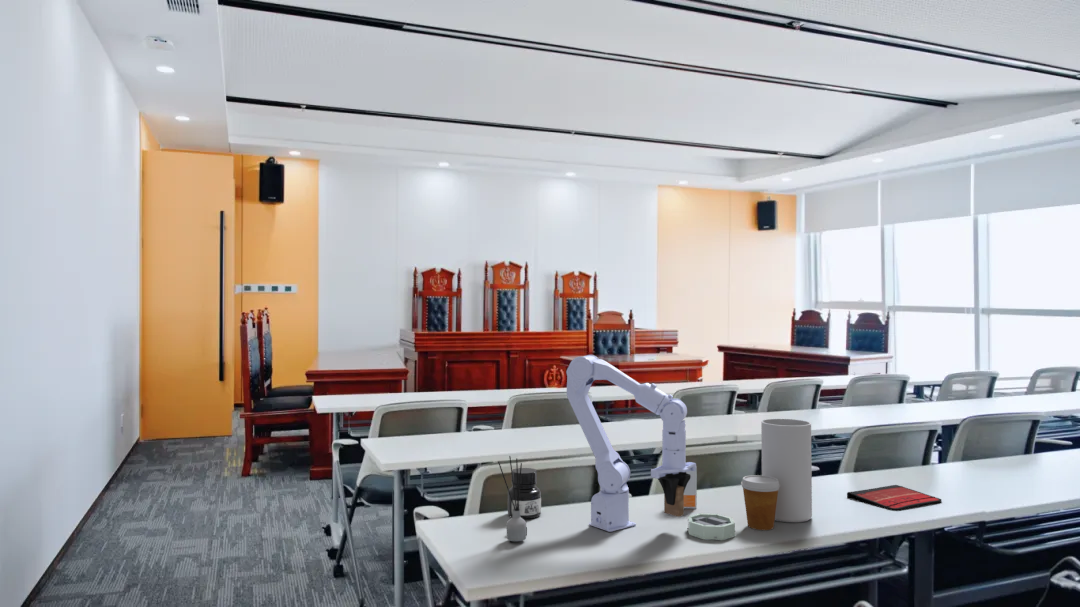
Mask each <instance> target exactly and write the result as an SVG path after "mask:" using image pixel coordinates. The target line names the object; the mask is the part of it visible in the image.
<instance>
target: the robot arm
mask: <svg viewBox="0 0 1080 607" xmlns="http://www.w3.org/2000/svg"><path fill="white" fill-rule="evenodd" d="M565 373H566V376H567V377H566V378H567V380H566V381H567V382H566V392H565V393H566V397H567V400H568V402H569V404H570V406H571V408H572V411H573V412H574V415H575V417H576V419H577V422H578V423H579V426H580V427H581V430H582V432H583V434H584V437H585V439H586V440H587V443H588V445H589V447H590V449H591V451H592V454H593V455H594V460H595V470H596V471H597V482H598V484H599V487H600V488H599V489H600V490H599V492H597V493H595V494H594V495H592V497H591V499H590V522H588V525H589V526H592V527H595V528H598V529H601V530H604V531H606V532H609V533H611V532H615V531H619V530H622V529H626V528H631V527H633V526H636V525H637V523H636V522H633V521H630V513H629V511H630V510H629V509H630V508H629V506H630V505H629V503H630V498H629V496H630V495H629V494H630V491H629V490H630V489H629V487H628V484H627V482H628V481H629V480H630V477H631V470H630V467H629V465H628V464H627V463H626V462H625V461H623V459H622V458H621V456H620V454H619V453H618V452H617V451H616V450H615V449H614V448H613V446H612V443H611V441H610V439H609V436H608V434H607V432H606V430H605V429H604V426H603V423H602V421H601V420H600V418H599V415H598V413H597V411H596V409H595V407H594V405H593V403H592V400H591V399H590V396H589V393H590V392H589V391H590V389H591V387H592V384H593V382H594V381H597V380H598V381H602V380H603V381H608V382H610V383H612V384H613V385H615V386H617V387H619V388H621V389H622V390H624V391H626V392H628V393H630V394H632V395H633V396H634V400H635V403H636V404H638V405H640V406H642V407H644V408H645V409H647V410H648V411H650V412H651V413H654V414H655V415H656V416H659V417H660V420H661V421H662V435H661V436H662V438H661V439H662V440H661V442H662V445H661V446H662V448H661V449H662V450H661V451H662V453H661V455H662V456H661V457H662V460H661V461H662V462H661V463H662V464H661V465H660V466H658V467H656V468H651V469H650V478H653V479H655V480H658V482H659V484H660V486H661V488H662V491H663V495H664V494H665V498H666V503H667V504H670V505H674V504H675V498H676V489H677V485H678V486H682V487H684V490H685V488H686V485H687V483H688V481H689V480H690V478H691V475H690V474H687V473H686V472H688V471H696V466H697V463H696V462H692V461H687V459H686V457H687V456H686V454H687V451H686V450H687V449H686V448H687V447H686V446H687V445H686V444H687V443H686V442H687V440H686V438H687V437H686V436H687V434H686V433H687V432H686V420H685V419H686V417H687V414H688V408H687V405H686V404H685V402H683V401H682V399H681V398H674V396H673V395H672V394H671V393H670V394H668V393H666V392H664V391H662V390H660V388H657V387H658V385H657V384H656V383H653V382H652V383H649V382H645V383H640V382H638V381H637V380H636V379H634V378H632V377H630V376H629V375H628V374H626V373H624V372H623V371H621V370H620V369H618V367H615V366H614V365H612V364H611V363H609V362H607V361H606V360H605V359H602V358H600V359H599V357H597V355H594V354H586V355H584V356H576V357H575V358H573V359H572V360H571V361H570V363H569V365H568V366H567V369H566V372H565ZM686 461H687V462H686Z"/></svg>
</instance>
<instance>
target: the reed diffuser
mask: <svg viewBox="0 0 1080 607" xmlns="http://www.w3.org/2000/svg"><path fill="white" fill-rule="evenodd" d="M511 458H512V457H511V455H509V458H508V459H509V466H510V472H511V473H510V474H511V483H512V482H513V485H512V486H513V490H514V498H515V506H516V509H515V506H514V503H513V500H512V497H511V494H510V491H509V489H510V488H509V486H508V483H507V481H506V480H507V479H506V478H505V475H504V471H503V469H502V465H501V463H500V461H499V460H498V461H497V463H498V466H499V469H500V472H501V475H502V477H503V480H504V484H505V486H506V489H507V493H508V492H509V495H510V498H511V500H512V503H513V506H514V509H513V515H512V517H510V518H509V519H508V520H507V522H506V539H507V540H508V541H510V542H523V541H525V540H526V539H527V537H528V527H527V522H526V519H522V518H521V517H520V509H519V491H520V479H521V468H523V467H522V466H523V463H522V462H520V467H518V466H519V465H518V458H515V462H516V463H515V464H516V467H515V468H517V497H518V501H517V505H516V497H515V489H514V481H513V473H512V470H513V466H512V459H511ZM518 468H520V478H519V490H518Z"/></svg>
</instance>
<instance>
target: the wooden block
mask: <svg viewBox="0 0 1080 607" xmlns="http://www.w3.org/2000/svg"><path fill="white" fill-rule="evenodd" d="M663 495H664V498H663V501H664V502H663V503H664V505H663V506H664V507H663V508H664V510H663V511H664V514H668V515H671V516H674V517H678V518H679V517H682V516H684V514H685V513H684V511H685V508H684V487H682V486H678V485H677V489H676V498H675V504H674V505H670V504H667V503H666V498H665V494H664V493H663Z"/></svg>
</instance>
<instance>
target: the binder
mask: <svg viewBox="0 0 1080 607" xmlns="http://www.w3.org/2000/svg"><path fill="white" fill-rule="evenodd" d="M846 496H847V497H846V498H847V499H853V498H855V499H857V500H858V501H859V502H861V503H863V504H868V505H870V506H871V505H872V506H874V507H878V508H882V509H885V510H889V511H894V512H899V511H903V510H907V509H912V508H916V507H917V508H918V507H922V506H927V505H936V504H938V505H939V504H941V502H942V499H941V498H939V497H936V496H933V495H929V494H926V493H924V492H921V491H919V490H914V489H912V488H907V487H905V486H903V485H899V484H898V485H897V484H893V485H886V486H880V487H876V488H875V487H874V488H868V489H867V488H866V489H861V490H854V491H848V492H846Z"/></svg>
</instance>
